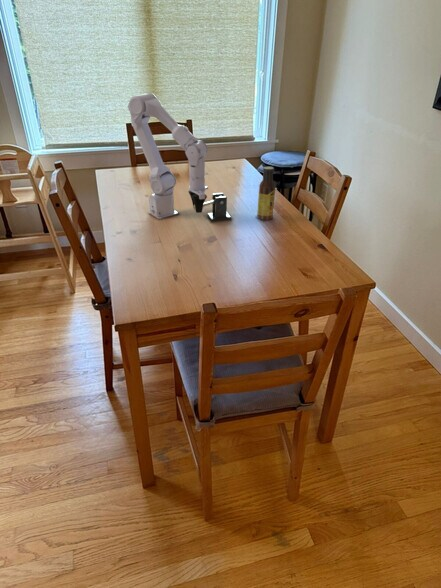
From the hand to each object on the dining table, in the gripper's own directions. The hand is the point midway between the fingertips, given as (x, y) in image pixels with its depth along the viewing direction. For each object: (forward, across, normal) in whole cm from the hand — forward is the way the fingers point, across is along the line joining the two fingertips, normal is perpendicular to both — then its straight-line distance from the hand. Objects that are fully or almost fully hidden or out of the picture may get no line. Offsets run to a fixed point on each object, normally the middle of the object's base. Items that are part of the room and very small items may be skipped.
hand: (197, 210), depth 158 cm
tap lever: (-1, 0, -5) cm, 5 cm away
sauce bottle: (+4, -5, -26) cm, 27 cm away
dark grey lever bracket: (+4, 0, -9) cm, 10 cm away
